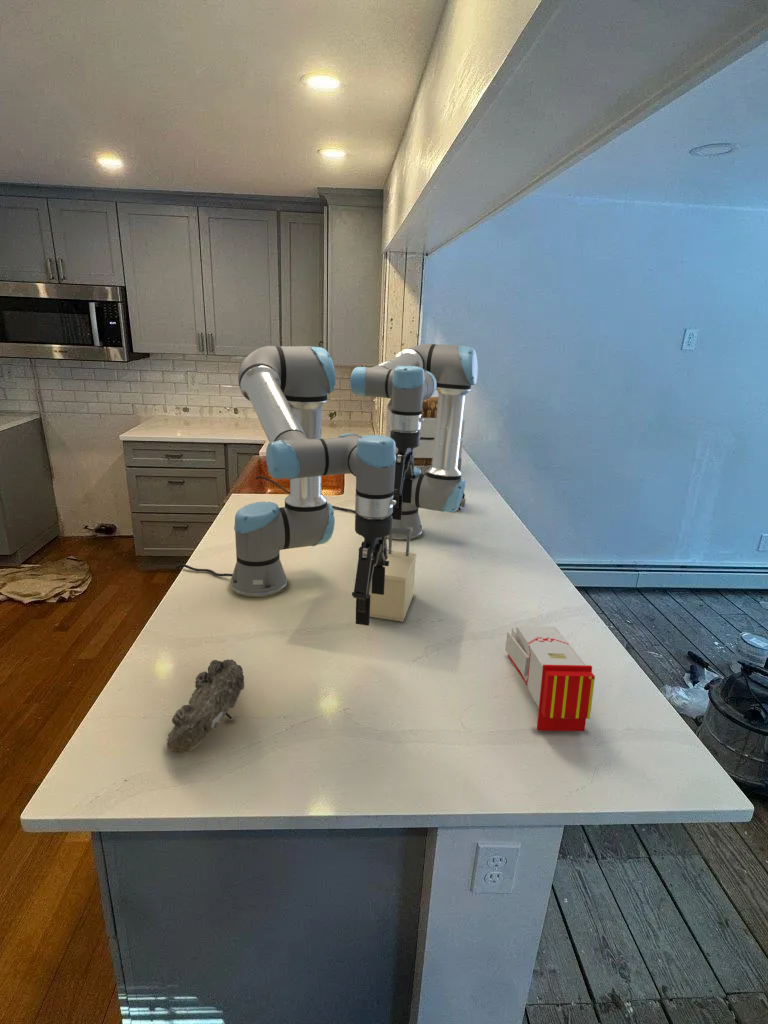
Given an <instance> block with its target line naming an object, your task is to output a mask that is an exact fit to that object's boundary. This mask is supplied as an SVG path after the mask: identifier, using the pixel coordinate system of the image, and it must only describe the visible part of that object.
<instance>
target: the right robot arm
mask: <svg viewBox="0 0 768 1024" xmlns="http://www.w3.org/2000/svg"><path fill="white" fill-rule="evenodd" d="M478 364H479V363H478V356H477V352H476V350H475V349H474V348H473V347H471V346H466V345H465V346H464V345H461V344H459V345H455V344H454V345H453V344H438V343H437V344H436V343H435V344H434V343H423V344H418V345H415V346H414V345H413V346H411V347H408V348H407V347H406V348H404V349H402V350H400V351H399V352H398V353H397V354H396V355H395V356H394V357H392V358H390V359H388V360H386V361H383V362H381V363H379V364H375V365H374V366H371V367H368V366H356V367H354V368H353V369H352V372H351V374H350V380H349V384H350V390H351V392H352V394H354V395H356V396H362V397H364V398H365V397H369V398H370V397H371V398H382V399H390V400H391V399H392V411H391V426H390V427H391V429H393V430H391V432H390V438H392V439H393V440H394V441H395V444H396V447H397V448H398V452H397V453H396V465H395V480H394V494H393V500H396V504H395V505H393V513H392V514H391V515H392V517H393V521H392V526H394V527H402V528H410V529H411V535H410V540H415V539H418V538H420V537H421V536H422V535H423V525H422V524H421V518H420V515H419V509H424V510H431V511H435V512H436V511H437V512H441V513H456V512H457V511H458V510H459V509H458V508H459V505H460V503H461V500H462V497H463V494H465V489H466V480H465V479H464V478H462V471H461V472H460V471H459V470H458V468H457V466H458V457H459V448H460V439H462V438H461V429H462V420H463V419H464V408H465V401H466V395H467V394H468V393H469V392H470V391H471V390H472V386H475V385H476V384H477V382H478V374H479V371H478V370H479V368H478V367H479V365H478ZM435 392H437V393H438V394H437V395H438V396H437V397H438V405H437V416H436V426H435V437H434V447H433V458H432V465H430V466H429V468H427V469H426V473H422V470H421V468H419V467H417V466H414V452H413V451H414V448H416V447H418V446H419V445H420V432H419V431H418V430H420V428H421V422H423V421H424V419H423V418H421V414H422V402H423V401H424V400H427V399H428V398H430V397H433V395H434V394H435ZM254 479H255V480H258V479H263V480H265V481H268V482H270V483H272V484H273V485H275V486H276V487H278V488H279V489H280V490H282V491H284V492H285V493H287V494H288V495H289V494H290V490H289V491H288V490H287V489H285V488H284V487H282V486H281V485H279V484H278V483H277V482H276V481H274V480H272V479H270V478H268V477H265V476H263V475H261V476H260V475H259V476H257V477H255V478H254ZM331 506H332V508H333V509H336V510H340V511H346V512H350V513H355V514H357V513H356V512H355V509H350V508H345V507H339V506H337V505H331ZM386 539H389V535H388V536H386ZM392 540H395V541H407V535H399V534H392Z"/></svg>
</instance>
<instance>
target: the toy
mask: <svg viewBox="0 0 768 1024" xmlns="http://www.w3.org/2000/svg"><path fill="white" fill-rule="evenodd" d="M504 649H505V651H506V653H507V657H508V659H509V660H510V661H511V663H512V665H513V666H514V668H515V670H516V671H517V672H518V674H519V676H520V678H521V679H522V681H523V682H524V684H525V685H526V686H527V689H528V691H529V693H530V694H531V697H532V698H533V700H534V702H535V703H536V706H537V707H538V710H537V711H538V712H537V721H536V731H537V732H585V730H586V724H587V723H586V722H587V719H588V720H589V719H591V712H592V705H593V704H592V703H593V696H594V687H595V677H596V675H594V673H593V666H592V665H587V664H586V663H585V662H584V661H583V660H582V659H581V657H580V656H579V654H578V653H577V652H576V651H575V649H574V648H573V647H572V646H571V645H570V643H569V642H568V641H567V639H566V638H565V637H564V636H563V634H562V633H561V631H559V630H558V628H557V627H556V626H543V625H541V626H540V625H539V626H538V625H516V627H512V628H511V631H507V633H506V639H505V647H504Z"/></svg>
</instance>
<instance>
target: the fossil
mask: <svg viewBox="0 0 768 1024" xmlns="http://www.w3.org/2000/svg"><path fill="white" fill-rule="evenodd" d="M243 670H244V669H243V667H242V665H240V664H237V662H236V661H235V660H234V659H232V658H231V659H227V658H226V659H224V660H223V661H222V660H217V659H212V660H211V661H210V663H209V665H208V666H207V671H201V672H199V673H198V674H197V675H196V676H195V680H194V684H195V685H194V687H195V689H194V690H193V693H192V694H191V697H190V698H189V700H188V704H184V705H182V706H181V707H180V709H177V710H176V711H175V713H174V715H173V716H172V718H171V723H172V724H173V727H172V730H171V731H170V732H168V734H167V738H166V741H167V742H166V745H167V749H168V750H169V751H173V752H174V753H176V754H178V753H182V752H188V751H189V752H192V751H193V750H195V748H196V747H197V746H199V744H200V743H201V742H203V741H204V740H205V739H206V738H207V737H208V736H209V735H210V734H211V733H212V732H214V730H215V729H217V727H218V726H219V724H220V722H221V721H222V720H223V719H224V718H225V716H226V717H227V719H229V720H233V717H232V715H230V714H229V710H230V709H231V708H234V706H235V704H236V703H237V702H238V699H239V697H240V695H241V693H242V691H243V690H245V689H244V688H245V675H244V671H243Z"/></svg>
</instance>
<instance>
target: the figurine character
mask: <svg viewBox="0 0 768 1024" xmlns="http://www.w3.org/2000/svg"><path fill="white" fill-rule="evenodd" d="M465 496H466V494H465V493H464V494H463V497H462V500H461V503H460V505H459V508H458V509H457V510H458V511H461V510H462V509H461V508H465V505H466V497H465Z"/></svg>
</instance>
